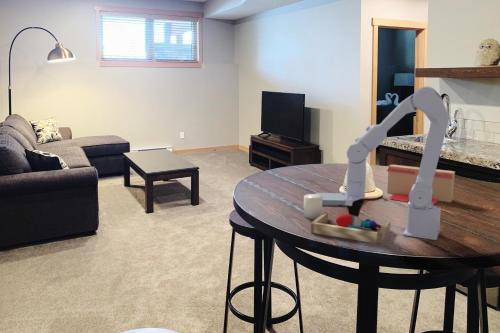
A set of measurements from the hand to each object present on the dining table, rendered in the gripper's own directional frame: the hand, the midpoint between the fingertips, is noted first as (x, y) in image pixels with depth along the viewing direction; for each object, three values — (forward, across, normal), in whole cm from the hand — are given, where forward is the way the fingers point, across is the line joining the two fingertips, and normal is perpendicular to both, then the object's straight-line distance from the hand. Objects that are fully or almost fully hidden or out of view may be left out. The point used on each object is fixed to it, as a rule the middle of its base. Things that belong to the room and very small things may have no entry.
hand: (353, 221), depth 141 cm
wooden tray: (+1, +6, +1) cm, 6 cm away
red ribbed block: (+2, -41, +13) cm, 43 cm away
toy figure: (+2, +3, +3) cm, 4 cm away
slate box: (+2, -23, -14) cm, 27 cm away
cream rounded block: (+2, -3, -15) cm, 16 cm away
